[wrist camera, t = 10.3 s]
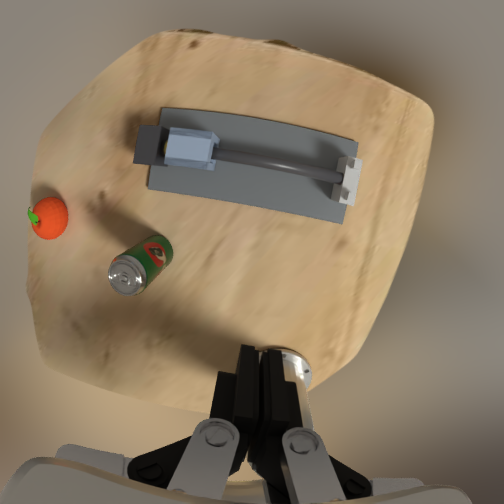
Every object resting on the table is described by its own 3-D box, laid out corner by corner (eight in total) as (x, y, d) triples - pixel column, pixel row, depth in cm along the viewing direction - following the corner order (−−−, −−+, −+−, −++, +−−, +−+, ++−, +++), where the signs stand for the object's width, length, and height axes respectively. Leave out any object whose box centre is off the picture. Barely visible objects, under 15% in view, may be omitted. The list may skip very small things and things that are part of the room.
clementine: (41, 220, 39) (16, 227, 32) (52, 185, 37) (25, 189, 30) (69, 242, 40) (44, 252, 33) (81, 206, 38) (54, 212, 31)
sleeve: (220, 139, 34) (212, 131, 28) (214, 171, 36) (205, 169, 30) (184, 135, 34) (170, 127, 28) (178, 166, 35) (163, 164, 29)
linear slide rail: (356, 143, 35) (373, 137, 29) (340, 223, 38) (355, 231, 32) (161, 109, 34) (145, 98, 28) (146, 188, 38) (128, 190, 32)
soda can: (147, 230, 39) (108, 250, 28) (177, 240, 39) (147, 265, 28) (140, 261, 40) (103, 290, 29) (170, 271, 41) (140, 305, 29)
